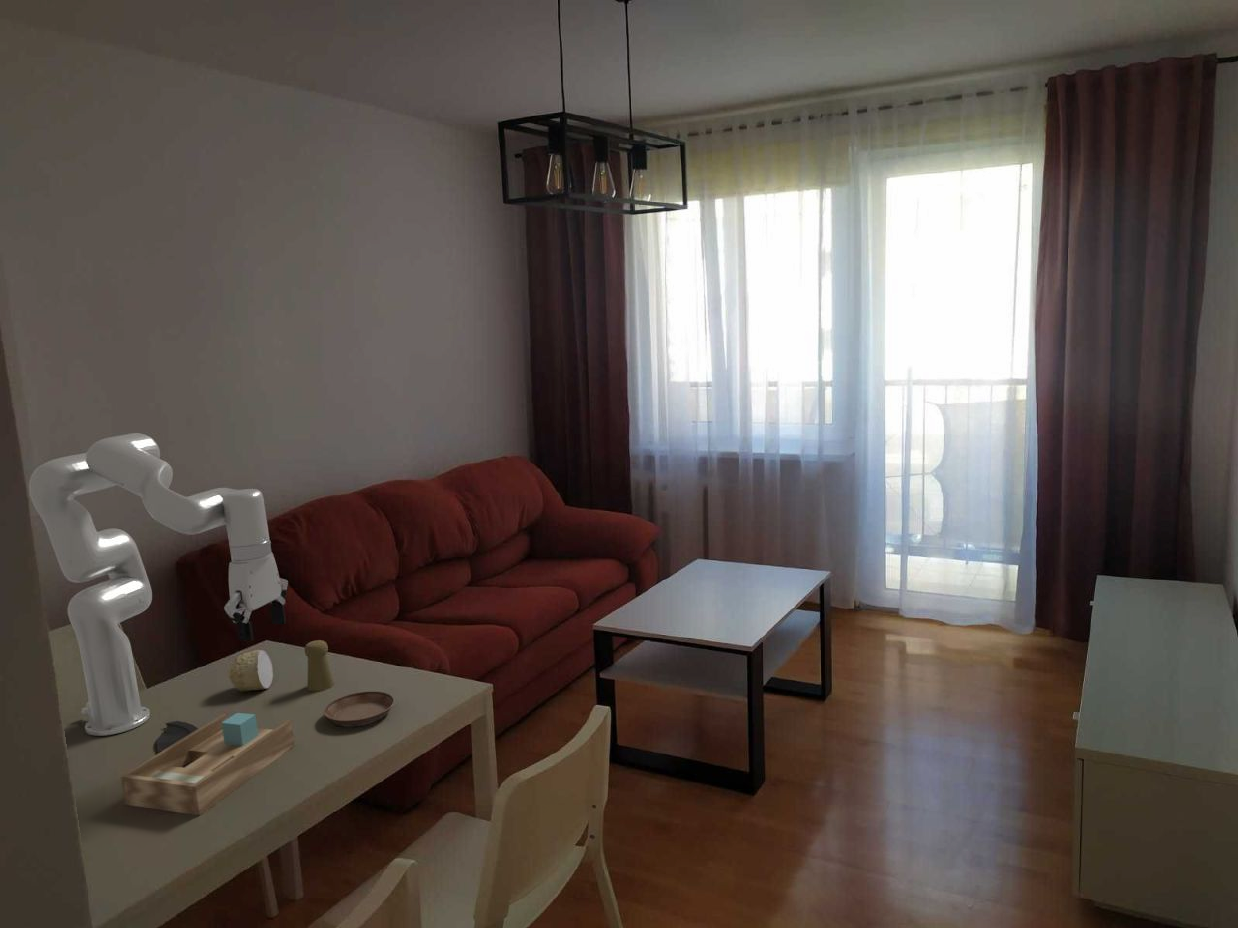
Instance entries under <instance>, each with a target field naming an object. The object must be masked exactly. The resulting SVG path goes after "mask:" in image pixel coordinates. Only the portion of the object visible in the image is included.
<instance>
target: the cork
mask: <svg viewBox="0 0 1238 928" xmlns="http://www.w3.org/2000/svg"><path fill="white" fill-rule="evenodd" d="M328 650H329V647H328V643H327V642H326V641H325V640H321V639H318V640H312V641H310V642H308V643H306V645H305V646H304V654H305V656H306V657H307V691H309V692H314V693H315V692H316V693H317V692H323V691H326V690H329V689H331V688H332V687H334V686H333V685H335V682H334V678H333V674H332V671H331V667H330V663H329V660H328V656H327V653H328Z"/></svg>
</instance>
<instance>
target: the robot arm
mask: <svg viewBox="0 0 1238 928" xmlns="http://www.w3.org/2000/svg"><path fill="white" fill-rule="evenodd" d="M160 457H161V450H160V447H159V445H158V443H157V442H156V440H155V439H153V438H152V437H151V436H149V435H146V434H144V433H140V432H133V433H127V434H126V433H125V434H121V435H115V436H111V437H106V438H102V439H99V440H98V441H96V442H94V443H93V444H92V445H90V447H89V448H88V450H87V451H86V452H84V453H79V454H73V455H72V454H71V455H67V456H63V457H58V458H55V459H52V460H49V461H46V462H45V463H43V464H41V465H39V466H37V468H35V469H34V471H33V472H32V473H31V476H30V477H29V478H30V479H29V484H28V492H29V497H30V499H31V502H32V505H33V507H34V509H35V510H36V511H37V513H38V515H39V517H40V518H41V520H42V521H43V524H44V526H45V529H46V530H47V531H46V532H47V534H48V537H49V540H50V543H51V545H52V549H53V551H54V554H55V557H56V560H57V562H58V564H59V568H60V570H61V572H62V574H63V576H64V577H65V578H66V579H67V580H68V581H69V582H72V583H77V584H78V583H84V582H89V581H91V580H95V579H97V578H100V577H103V576H106V575H108V577H109V579H108V580H105V581H102V582H99V583H97V584H94V585H92V586H89V587H86V588H84V589H81V590H80V591H79V592H77V593H76V594H75V595H74V596H72V597H71V599H70V601H69V603H68V604H67V616H68V620H69V621H70V624H71V626H72V629H73V630H74V633H75V636H76V640H77V643H78V649H79V652H80V658H81V663H82V669H83V675H84V680H85V687H86V691H87V697H88V701H87V702H86V704H85V707H83V708H82V709H80V710H81V714H82V715H88V718H89V720H88V721H87V722H86V723H85V725H84V729H85V732H86V733H87V735H90V736H94V737H95V736H97V737H101V736H103V737H105V736H112V735H117V734H121V733H124V732H127V731H130V730H133V729H135V728H137V727H139V726H141V725H143V724H144V723H145V722H147V721H148V720H149V718H150V716H151V713H150V709H149V708H147V707H146V706H142V705H141V700H140V694H139V693H140V692H139V688H138V680H137V676H136V675H137V674H136V669H135V664H134V658H133V650H132V646H131V645H132V644H131V642H130V640H129V637H128V636H127V635H126V633H124V631H123V630H122V629H121V628H120V626H119V624H120V623H122V622H124V621H125V620H128V619H130V618H133V617H135V616H138V615H140V614H141V613H143V612H144V611H146V610H147V609H148V608H149V607H150V605H151V604H152V601H153V591H152V586H151V584H150V579H149V577H148V575H147V571H146V568H145V565H144V563H143V560H142V557H141V554H140V550H139V549H138V548H139V547H138V546H137V544H136V542H135V540H134V539H133V537H132V536H130V534H129V533H128V532H126V531H124V530H122V529H119V528H115V527H113V528H106V529H102V530H100V531H99V530H97V529H96V527H95V524H94V522H93V518H92V515H91V513H90V512H89V511H88V510H87V508H86V507H85V506H84V505H83V504H82V503H80V502H79V501H78V500H76V499H74V498H75V497H77V496H81V495H84V494H89V493H93V492H97V491H101V490H106V489H109V488H113V487H115V486H118V487H120V488H123V489H124V490H127V491H128V492H130V493H132V494H134V495H136V496H138V497H140V498H141V500H142V504H143V506H144V507H145V509H146V511H147V513H148V514H149V515H150V516H151V517H152V518H153V520H155V521H156V522H158V523H159V524H161V525H164V526H165V527H167V528H170V529H171V530H173V531H176V532H177V533H181V534H185V535H197V534H201V533H204V532H206V531H209V530H212V529H215V528H218V527H222V526H224V525H226V532H227V539H228V545H229V551H230V556H231V557H230V559H231V561H230V562H229V564H228V589H229V600H228V601H227V603H226V604H225V605H224V608H223V609H224V611H225V613H226V614H227V615H228V618H229V619H231V621H232V623H234V624H236V629H237V637H238V641H239V642H249V643H251V642H254V638H255V637H254V631H253V625H252V622H251V621H249V619H250V616H251V614H252V612H253V611H255V610H257V609H260V608H261V607H264V606H265V605H267V604H270V605H269V606H268V607H269V613H270V621H271V624H272V625H285V624H286V623H287V618H286V613H285V606H284V605H286V596H287V595H288V591H287V590H288V585H289V581H288V580H287V579H284V578H281V577H280V574H279V570H278V566H277V563H276V559H275V556H274V553H273V552H272V548H271V547H272V546H271V544H272V542H271V540H270V533H269V527H268V520H267V514H266V507H265V500H264V495H263V493H262V491H260V489H256V488H247V489H246V488H245V489H235V488H234V489H233V488H230V487H218V488H213V489H210V490H206V491H202V492H198V493H195V494H192V495H190V496H189V495H188V496H184V495H182V494H180V493H178V492H175V491H173V490H172V489H170V486H171V484H172V481H173V477H174V471H173V467H172V466H171V464H169V463H168V462H167V461H165V460H163V459H160ZM242 614H243V615H242Z"/></svg>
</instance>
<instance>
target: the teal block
mask: <svg viewBox="0 0 1238 928" xmlns="http://www.w3.org/2000/svg"><path fill="white" fill-rule="evenodd" d="M258 728H259V727H258V722H257V714H253V713H242V712H236V713H234V714H233V715H231V716H229V717H228V719H227V720H225V721H223V722H222V730H223V737H224V743H225V744H230V745H239V746H244V745H245V744H247V743H248V742H250V741H251V740H253V739H254V738H255V737H257V736H258Z"/></svg>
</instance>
